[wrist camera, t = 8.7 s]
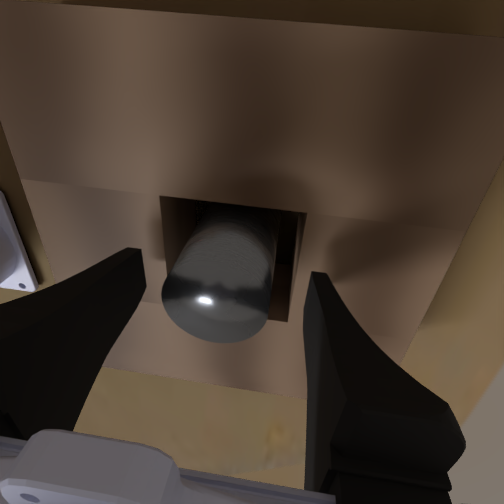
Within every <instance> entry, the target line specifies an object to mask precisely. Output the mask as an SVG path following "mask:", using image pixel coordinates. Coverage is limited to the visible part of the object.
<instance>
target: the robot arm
mask: <svg viewBox="0 0 504 504" xmlns="http://www.w3.org/2000/svg"><path fill="white" fill-rule="evenodd" d="M0 287H2V288H9V289H16V290H23V291H30V292H34V291H35V290H37V289H38V287H39V286H38V282H37V280H36V277H35V275H34V272H33V269H32V267H31V264H30V261H29V259H28V256H27V254H26V251H25V248H24V246H23V243H22V241H21V238H20V235H19V233H18V230H17V227H16V225H15V222H14V220H13V217H12V214H11V212H10V209H9V207H8V204H7V201H6V199H5V196H4V194H3V193H2V192H1V191H0ZM146 287H147V284H146V277H145V270H144V263H143V256H142V249H138V248H130V247H127V248H125V249H123V250H121V251H119V252H117V253H115V254H113V255H111V256H109V257H108V258H106V259H104V260H102V261H100V262H98V263H97V264H95V265H93V266H91V267H89V268H87V269H86V270H84V271H82V272H79V273H77V274H75V275H73V276H71V277H69V278H67V279H65V280H63V281H61V282H59V283H57V284H54V285H52V286H50V287H47V288H45V289H42V290H40V291H37V292H35V293H32V294H30V295H27V296H24V297H21V298H18V299H15V300H12V301H9V302H6V303H3V304H0V504H452V502H451V499H450V496H449V494H448V491H451V490H452V486H451V482H450V480H449V477H448V474H447V472H448V471H449V470H450V468H451V467H452V466H453V465H454V464H455V463H456V462H457V461H458V459H459V458H460V457H461V456H462V454H463V452H464V450H465V448H466V441H465V438H464V436H463V434H462V431H461V429H460V426H459V424H458V422H457V420H456V418H455V416H454V414H453V412H452V410H451V408H450V406H449V404H448V403H447V402H445V401H444V400H443V399H441V398H440V397H438V396H437V395H436V394H434V393H433V392H431V391H430V390H429V389H427V388H426V387H424V386H423V385H422V384H420V383H419V382H418V381H417V380H415V379H414V378H413V377H412V376H410V375H409V374H408V373H407V372H405V371H404V370H403V369H402V368H401V367H400V366H399V365H397V364H396V363H395V362H394V361H393V360H392V359H391V358H390V357H389V356H388V355H387V354H386V353H385V352H384V351H382V350H381V349H380V348H379V346H378V345H377V344H376V343H375V342H374V341H373V340H372V339H371V338H370V337H369V336H368V334H367V333H366V332H365V331H364V330H363V328H362V327H361V326H360V325H359V323H358V322H357V321H356V319H355V318H354V317H353V315H352V314H351V312H350V311H349V309H348V308H347V306H346V305H345V303H344V302H343V300H342V299H341V297H340V295H339V294H338V292H337V290H336V289H335V287H334V285H333V283H332V281H331V279H330V278H329V276H328V274H327V273H323V272H316V271H311V275H310V280H309V285H308V289H307V294H306V299H305V304H304V309H303V340H304V351H305V363H306V375H307V428H306V459H305V483H304V490H302V489H296V488H290V487H285V486H279V485H273V484H268V483H262V482H256V481H250V480H245V479H240V478H234V477H228V476H223V475H217V474H212V473H206V472H200V471H195V470H189V469H183V468H178V467H177V465H176V463H175V462H174V460H173V459H172V457H171V456H169V455H168V454H166V453H164V452H163V451H161V450H160V449H158V448H154V447H151V446H148V445H145V444H141V443H136V442H130V441H124V440H119V439H113V438H107V437H101V436H96V435H90V434H84V433H78V432H73V429H74V427H75V424H76V422H77V420H78V417H79V415H80V412H81V410H82V408H83V405H84V403H85V401H86V399H87V396H88V394H89V392H90V390H91V388H92V386H93V383H94V381H95V379H96V377H97V375H98V373H99V371H100V369H101V367H102V365H103V363H104V361H105V359H106V357H107V355H108V353H109V352H110V350H111V348H112V347H113V345H114V344H115V342H116V340H117V339H118V337H119V336H120V334H121V333H122V331H123V330H124V328H125V326H126V325H127V323H128V322H129V320H130V319H131V317H132V315H133V314H134V312H135V311H136V309H137V307H138V305H139V303H140V301H141V299H142V297H143V294H144V292H145V290H146Z"/></svg>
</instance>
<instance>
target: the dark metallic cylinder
mask: <svg viewBox="0 0 504 504" xmlns="http://www.w3.org/2000/svg"><path fill="white" fill-rule="evenodd" d="M280 220H281V210H279V209H271V208H262V207H254V206H245V205H237V204H229V203H220V202H212V201H211V202H210V204H209V206H208V207H207V209H206V211H205V213H204V214H203V216H202V218H201V219H200V221H199V223H198V225H197V226H196V228H195V230H194V231H193V233H192V235H191V236H190V238H189V240H188V242H187V243H186V245H185V247H184V248H183V250H182V252H181V254H180V255H179V257H178V259H177V260H176V262H175V264H174V265H173V267H172V269H171V271H170V272H169V274H168V276H167V277H166V279H165V281H164V283H163V286H162V291H161V298H162V303H163V306H164V309H165V311H166V312H167V314H168V316H169V317H170V318H171V320H172V321H173V322H174V323H175V324H176V325H177V326H178V327H180V328H181V329H182V330H184V331H185V332H187V333H188V334H190V335H192V336H194V337H197V338H199V339H202V340H205V341H209V342H214V343H235V342H240V341H243V340H246V339H248V338H251V337H252V336H254V335H255V334H257V333H258V332H259V331H260V330H261V329H262V328H263V326H264V325H265V323H266V321H267V318H268V313H269V305H270V297H271V290H272V282H273V274H274V266H275V259H276V251H277V243H278V235H279V228H280Z"/></svg>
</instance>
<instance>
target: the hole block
mask: <svg viewBox="0 0 504 504" xmlns="http://www.w3.org/2000/svg"><path fill="white" fill-rule="evenodd" d="M0 121H1V124H2V127H3V130H4V133H5V136H6V139H7V142H8V145H9V148H10V151H11V154H12V156H13V159H14V162H15V165H16V168H17V171H18V174H19V177H20V180H21V183H22V186H23V189H24V191H25V194H26V197H27V200H28V203H29V206H30V209H31V212H32V215H33V218H34V221H35V224H36V227H37V229H38V232H39V235H40V238H41V241H42V244H43V247H44V250H45V253H46V256H47V259H48V262H49V264H50V267H51V270H52V273H53V276H54V279H55V282H56V284H57V283H59V282H61V281H63V280H65V279H67V278H69V277H71V276H73V275H75V274H77V273H79V272H82V271H84V270H86V269H87V268H89V267H91V266H93V265H95V264H97V263H98V262H100V261H102V260H104V259H106V258H108V257H109V256H111V255H113V254H115V253H117V252H119V251H121V250H123V249H125V248H127V247H130V248H138V249H142V256H143V263H144V270H145V277H146V284H147V287H146V290H145V292H144V294H143V297H142V299H141V301H140V303H139V305H138V307H137V309H136V311H135V312H134V314H133V315H132V317H131V319H130V320H129V322H128V323H127V325H126V326H125V328H124V330H123V331H122V333H121V334H120V336H119V337H118V339H117V340H116V342H115V344H114V345H113V347H112V348H111V350H110V352H109V353H108V355H107V357H106V359H105V361H104V363H103V365H102V367H107V368H114V369H120V370H126V371H132V372H139V373H145V374H151V375H157V376H164V377H170V378H176V379H182V380H189V381H195V382H201V383H207V384H214V385H220V386H226V387H232V388H239V389H245V390H251V391H257V392H264V393H270V394H276V395H282V396H289V397H295V398H301V399H307V375H306V363H305V351H304V340H303V309H304V304H305V299H306V294H307V289H308V285H309V280H310V275H311V271H316V272H323V273H327V274H328V276H329V278H330V279H331V281H332V283H333V285H334V287H335V289H336V290H337V292H338V294H339V295H340V297H341V299H342V300H343V302H344V303H345V305H346V306H347V308H348V309H349V311H350V312H351V314H352V315H353V317H354V318H355V319H356V321H357V322H358V323H359V325H360V326H361V327H362V328H363V330H364V331H365V332H366V333H367V334H368V336H369V337H370V338H371V339H372V340H373V341H374V342H375V343H376V344H377V345H378V346H379V348H380V349H381V350H382V351H384V352H385V353H386V354H387V355H388V356H389V357H390V358H391V359H392V360H393V361H394V362H395V363H396V364H397V365H399V366H400V364H401V362H402V360H403V358H404V356H405V354H406V352H407V350H408V348H409V346H410V344H411V342H412V340H413V338H414V336H415V334H416V332H417V330H418V328H419V326H420V324H421V322H422V320H423V318H424V316H425V314H426V312H427V310H428V308H429V306H430V304H431V302H432V300H433V298H434V296H435V294H436V292H437V290H438V288H439V286H440V284H441V282H442V280H443V278H444V276H445V274H446V272H447V270H448V268H449V266H450V264H451V262H452V260H453V258H454V256H455V254H456V252H457V250H458V248H459V246H460V244H461V242H462V240H463V238H464V236H465V234H466V232H467V230H468V228H469V226H470V224H471V222H472V220H473V218H474V216H475V214H476V212H477V210H478V208H479V206H480V204H481V202H482V200H483V198H484V196H485V194H486V192H487V190H488V188H489V186H490V184H491V182H492V180H493V178H494V176H495V174H496V172H497V170H498V168H499V166H500V164H501V162H502V160H503V158H504V37H493V36H480V35H467V34H453V33H440V32H427V31H414V30H400V29H387V28H374V27H361V26H348V25H334V24H321V23H308V22H295V21H281V20H268V19H255V18H242V17H229V16H215V15H202V14H189V13H176V12H162V11H149V10H136V9H123V8H109V7H96V6H83V5H70V4H57V3H43V2H30V1H17V0H0ZM195 200H203V201H212V202H220V203H229V204H237V205H245V206H254V207H262V208H271V209H279V210H288V211H296V212H299V217H298V223H297V229H296V235H295V241H294V247H293V253H292V259H291V265H287V264H279V263H275V266H274V274H273V282H272V290H271V297H270V305H269V313H268V318H267V321H266V323H265V325H264V326H263V328H262V329H261V330H260V331H259V332H258V333H257V334H255V335H254V336H252V337H251V338H248V339H246V340H243V341H240V342H235V343H214V342H209V341H205V340H202V339H199V338H197V337H194V336H192V335H190V334H188V333H187V332H185V331H184V330H182V329H181V328H180V327H178V326H177V325H176V324H175V323H174V322H173V321H172V320H171V318H170V317H169V316H168V314H167V312H166V311H165V309H164V306H163V303H162V298H161V291H162V286H163V283H164V281H165V279H166V277H167V276H168V274H169V272H170V271H171V269H172V267H173V265H174V264H175V262H176V260H177V259H178V257H179V255H180V254H181V252H182V250H183V248H184V247H185V245H186V243H187V242H188V240H189V238H190V236H191V235H192V233H193V231H194V230H195V228H196V210H195Z"/></svg>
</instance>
